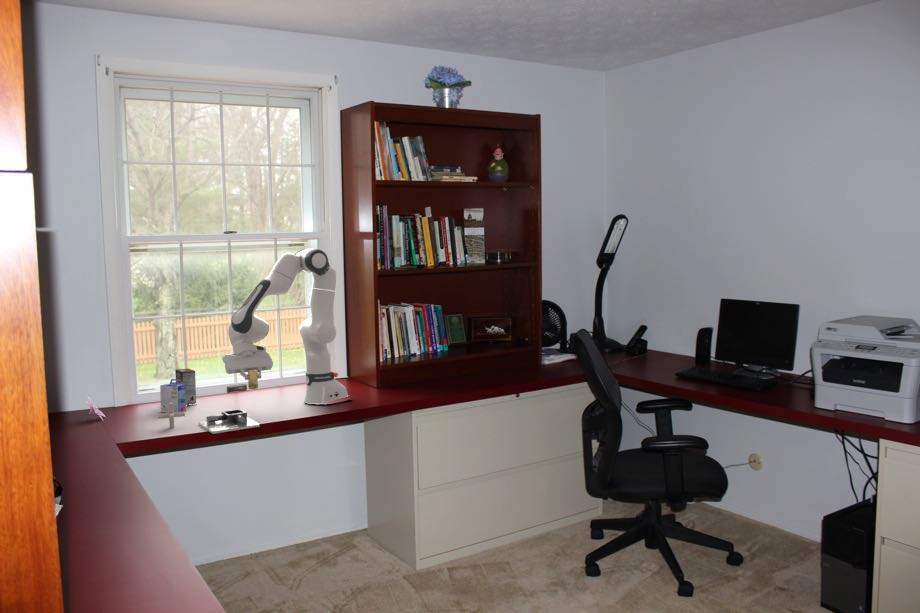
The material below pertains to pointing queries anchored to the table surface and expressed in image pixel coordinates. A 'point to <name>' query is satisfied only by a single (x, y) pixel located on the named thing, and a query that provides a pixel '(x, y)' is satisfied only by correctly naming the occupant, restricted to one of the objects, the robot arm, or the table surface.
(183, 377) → the coffee box
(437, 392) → the table surface
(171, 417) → the pipe connector
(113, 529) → the table surface
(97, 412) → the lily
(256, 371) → the tan upright block
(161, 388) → the ink cartridge box
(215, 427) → the base
